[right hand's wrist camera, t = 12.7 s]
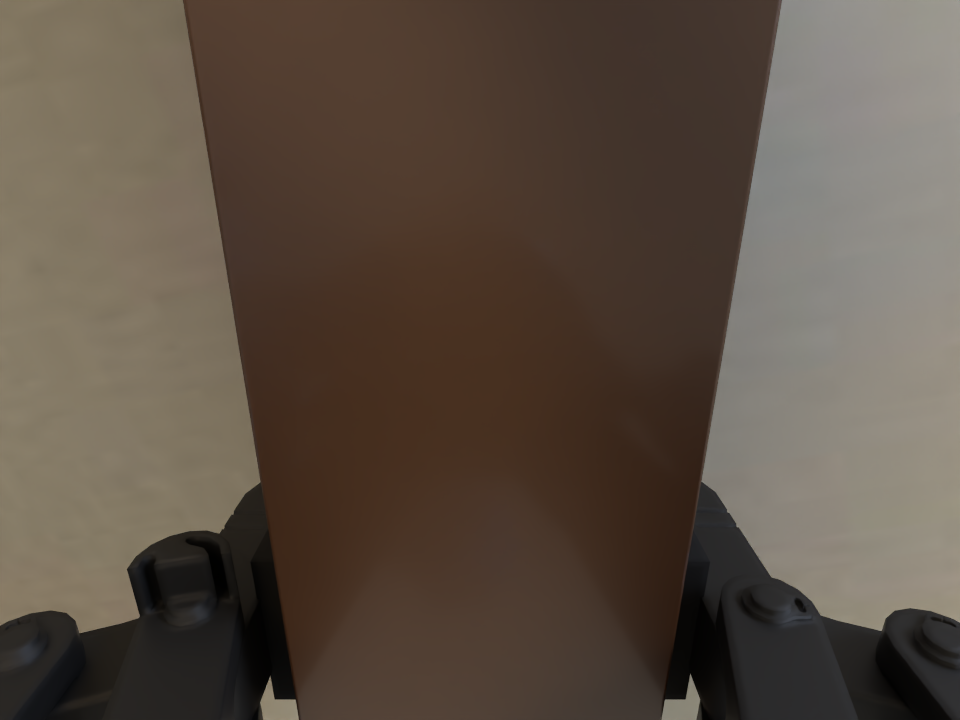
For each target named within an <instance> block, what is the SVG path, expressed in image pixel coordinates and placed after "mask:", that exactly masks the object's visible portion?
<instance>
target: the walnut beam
mask: <svg viewBox="0 0 960 720" xmlns="http://www.w3.org/2000/svg"><path fill="white" fill-rule="evenodd" d="M781 2H782V0H183V3H184V9H185V15H186V21H187V27H188V34H189V40H190V46H191V52H192V58H193V65H194V71H195V77H196V83H197V89H198V96H199V102H200V108H201V114H202V120H203V127H204V133H205V139H206V145H207V151H208V158H209V164H210V170H211V176H212V182H213V189H214V195H215V201H216V207H217V213H218V220H219V226H220V232H221V238H222V244H223V251H224V257H225V263H226V269H227V275H228V282H229V288H230V294H231V300H232V306H233V313H234V319H235V325H236V331H237V337H238V344H239V350H240V356H241V362H242V368H243V375H244V381H245V387H246V393H247V399H248V406H249V412H250V418H251V424H252V431H253V437H254V443H255V449H256V455H257V462H258V468H259V474H260V480H261V486H262V493H263V499H264V505H265V511H266V517H267V524H268V530H269V536H270V542H271V548H272V555H273V561H274V567H275V573H276V579H277V586H278V592H279V598H280V604H281V610H282V617H283V623H284V629H285V635H286V641H287V648H288V654H289V660H290V666H291V672H292V679H293V685H294V691H295V697H296V703H297V710H298V716H299V720H661V719H662V713H663V707H664V701H665V695H666V689H667V683H668V677H669V671H670V665H671V659H672V653H673V647H674V641H675V635H676V629H677V623H678V617H679V611H680V605H681V599H682V593H683V587H684V581H685V575H686V569H687V563H688V558H689V552H690V546H691V540H692V534H693V528H694V522H695V516H696V510H697V504H698V498H699V492H700V486H701V480H702V474H703V468H704V462H705V456H706V450H707V444H708V438H709V432H710V426H711V420H712V414H713V408H714V402H715V396H716V390H717V384H718V378H719V372H720V366H721V361H722V355H723V349H724V343H725V337H726V331H727V325H728V319H729V313H730V307H731V301H732V295H733V289H734V283H735V277H736V271H737V265H738V259H739V253H740V247H741V241H742V235H743V229H744V223H745V217H746V211H747V205H748V199H749V193H750V187H751V181H752V175H753V170H754V164H755V158H756V152H757V146H758V140H759V134H760V128H761V122H762V116H763V110H764V104H765V98H766V92H767V86H768V80H769V74H770V68H771V62H772V56H773V50H774V44H775V38H776V32H777V26H778V20H779V14H780V8H781Z"/></svg>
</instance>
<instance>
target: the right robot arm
mask: <svg viewBox="0 0 960 720" xmlns="http://www.w3.org/2000/svg"><path fill="white" fill-rule="evenodd" d="M127 571H128V574H129V578H130V581H131V585H132V589H133V592H134V596H135V600H136V603H137V607H138V610H139V614H140V617H139V618H138V619H135V620H132V621H129V622H125V623H122V624H118V625H113V626H109V627H105V628H101V629H96V630H92V631H88V632H84V633H80V634H79V631H78V628H77V625H76V622H75V620H74V619H73V618H71V617H70V616H69V615H68V614H67V613H62V612H56V611H45V612H38V613H31V614H28V615H25V616H22V617H20V618H17V619H14V620H11V621H8V622H6V623H5V624H3V625H1V626H0V720H263V716H262V710H261V705H260V701H261V698H262V696H263V693H264V691H265V688H266V685H267V683H268V680H269V678H270V675H271V680H272V686H273V692H274V697H275V699H296V697H295V691H294V685H293V679H292V672H291V666H290V660H289V654H288V648H287V641H286V635H285V629H284V623H283V617H282V610H281V604H280V598H279V592H278V586H277V579H276V573H275V567H274V561H273V555H272V548H271V542H270V536H269V530H268V524H267V517H266V511H265V505H264V499H263V493H262V486H261V483H259V484H258V485H257V486H255V487H254V488H253V489H251V490H250V491H249V492H247V493H246V494H245V495H244V497H243V498H242V500H241V501H240V503H239V504H238V506H237V507H236V509H235V511H234V515H231V517H230V518H229V520H228V521H227V523H226V524H225V528H224V529H222V531H221V532H220V534H218V533H214V532H210V531H189V532H185V533H181V534H177V535H173V536H169V537H167V538H165V539H163V540H161V541H159V542H156V543H154V544H152V545H151V546H149V547H148V548H147V549H145V550H144V551H143V552H141V553H140V554H139V555H137V556H136V557H135V559H134V560H133V562H132V563H131V564H130V566H129V567H128V569H127ZM690 674H691V676H692V679H693V681H694V684H695V687H696V689H697V692H698V694H699V697H700V705H699V710H698V715H697V720H960V623H959V622H957V621H956V620H954V619H951V618H948V617H946V616H943V615H940V614H937V613H934V612H931V611H925V610H918V609H911V608H910V609H903V610H897V611H894V612H893V613H892V614H891V615H889V616H888V617H887V618H886V620H885V623H884V626H883V629H882V631H878V630H874V629H870V628H865V627H861V626H857V625H853V624H849V623H844V622H840V621H836V620H833V619H830V618H827V617H823V616H821V615H820V614H819V612H818V611H817V609H816V608H815V606H814V604H813V603H812V601H810V600H809V599H808V598H807V597H806V596H805V595H803V594H802V593H801V592H800V591H799V590H798V589H796V588H794V587H792V586H790V585H788V584H786V583H785V582H783V581H781V580H778V579H774V578H771V576H770V575H769V573H768V572H767V570H766V569H765V567H764V566H763V564H762V563H761V561H760V560H759V558H758V557H757V555H756V553H755V552H754V550H753V549H752V547H751V546H750V544H749V543H748V541H747V540H746V538H745V537H744V535H743V534H742V532H741V530H740V529H739V527H736V523H735V521H734V520H733V518H732V517H731V515H730V514H729V513H727V509H726V508H725V506H724V504H723V503H722V501H721V500H720V498H719V497H718V495H717V494H716V492H714V491H713V490H712V489H710V488H709V487H708V486H706V485H705V484H704V483H702V482H701V486H700V492H699V498H698V504H697V510H696V516H695V522H694V528H693V534H692V540H691V546H690V552H689V558H688V563H687V569H686V575H685V581H684V587H683V593H682V599H681V605H680V611H679V617H678V623H677V629H676V635H675V641H674V647H673V653H672V659H671V665H670V671H669V677H668V683H667V689H666V695H665V699H686V694H687V688H688V683H689V677H690Z"/></svg>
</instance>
